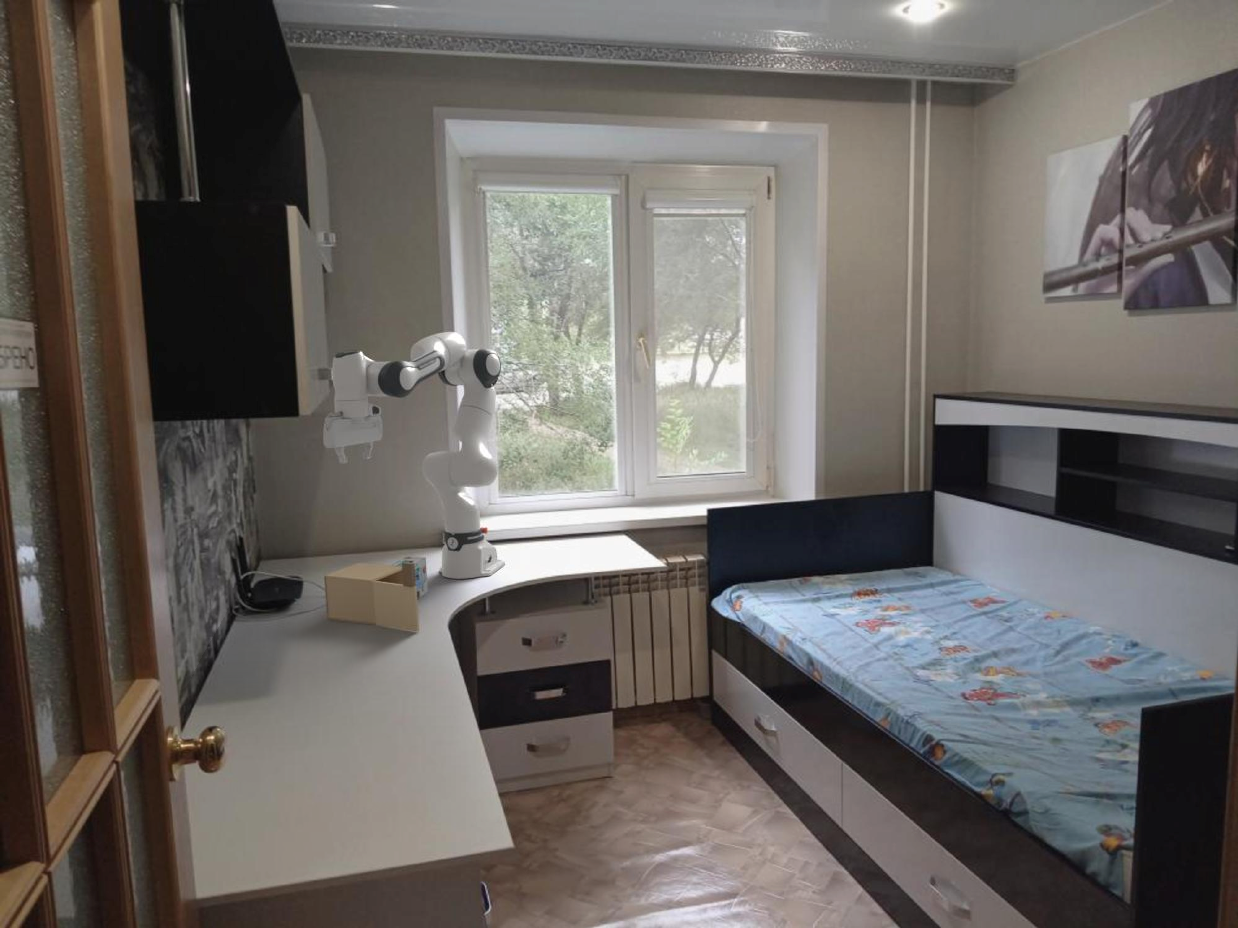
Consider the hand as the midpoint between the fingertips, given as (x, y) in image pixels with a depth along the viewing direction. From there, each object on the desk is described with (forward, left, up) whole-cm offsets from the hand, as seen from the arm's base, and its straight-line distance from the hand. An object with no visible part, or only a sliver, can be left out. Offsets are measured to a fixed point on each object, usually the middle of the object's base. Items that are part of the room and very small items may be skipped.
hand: (355, 460), depth 233 cm
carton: (+6, +6, -41) cm, 42 cm away
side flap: (+14, +21, -41) cm, 48 cm away
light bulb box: (-11, +7, -41) cm, 43 cm away
